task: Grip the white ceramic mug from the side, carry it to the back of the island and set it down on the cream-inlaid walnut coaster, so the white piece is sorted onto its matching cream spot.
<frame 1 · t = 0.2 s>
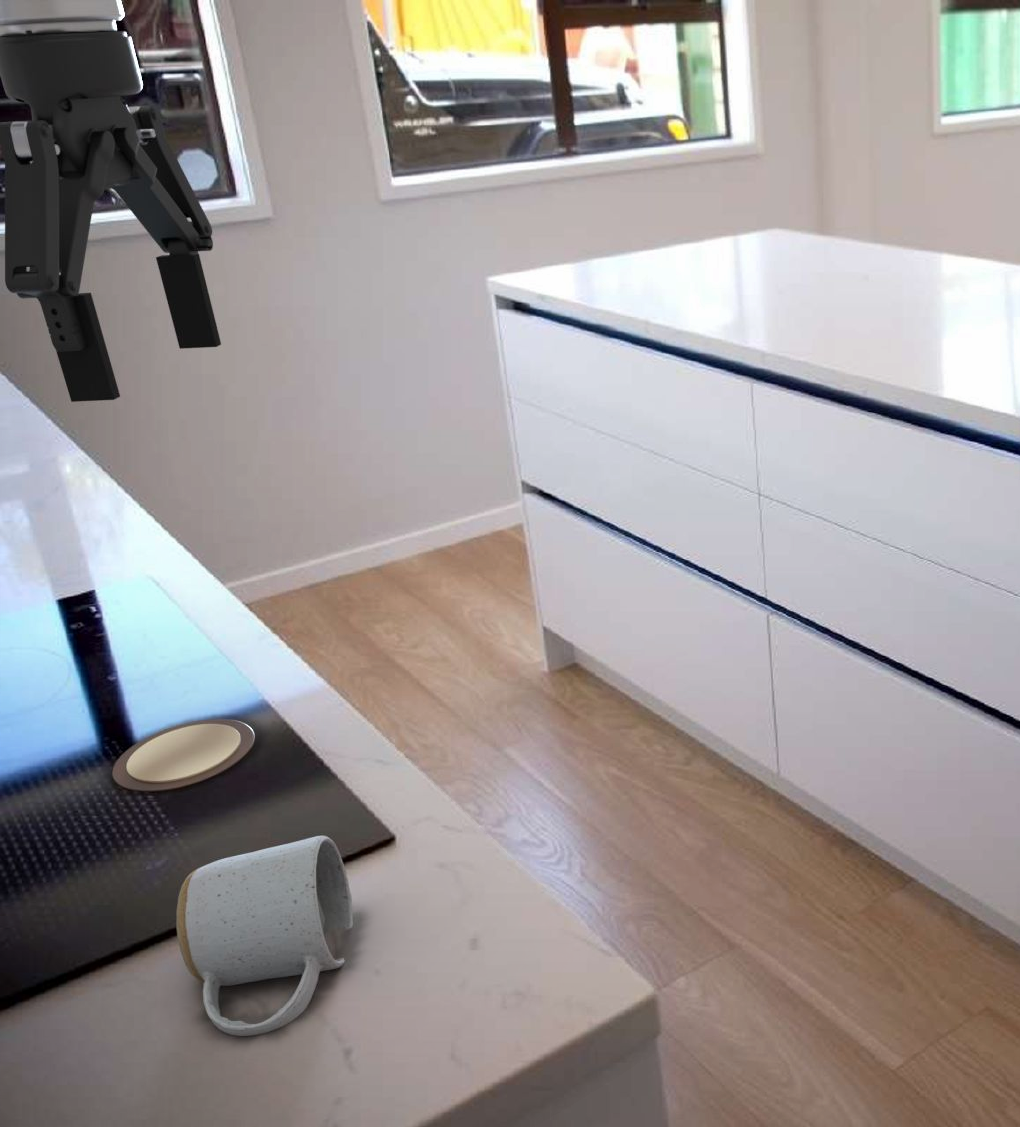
hand: (152, 371, 86), 31 cm above the worktop, tool pointing down, fingers open, 13 cm apart
ceramic mug: (284, 980, 76), on the worktop
cream coaster: (187, 761, 99), on the worktop
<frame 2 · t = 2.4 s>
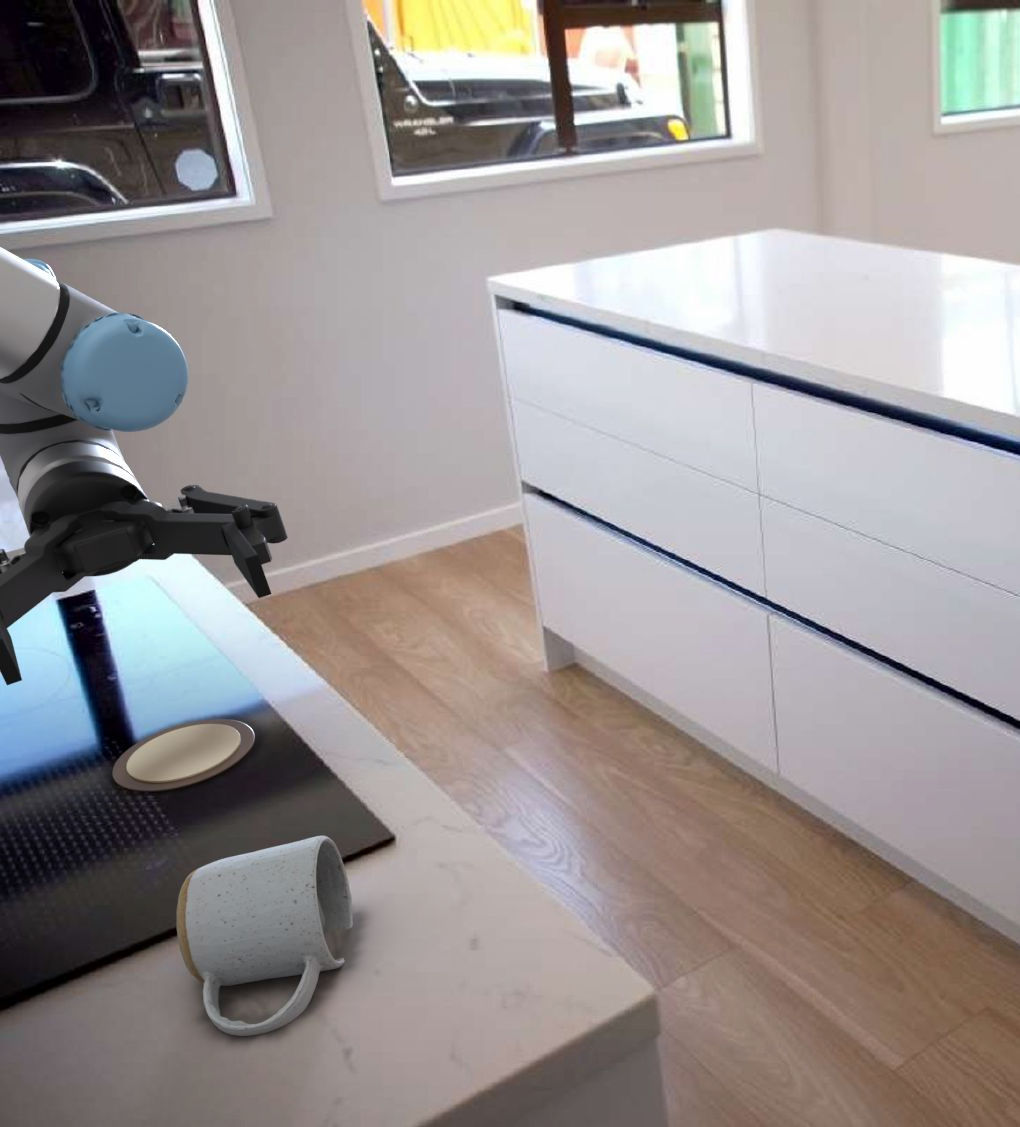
hand: (137, 617, 74), 21 cm above the worktop, tool horizontal, fingers open, 13 cm apart
nothing on the worktop moved.
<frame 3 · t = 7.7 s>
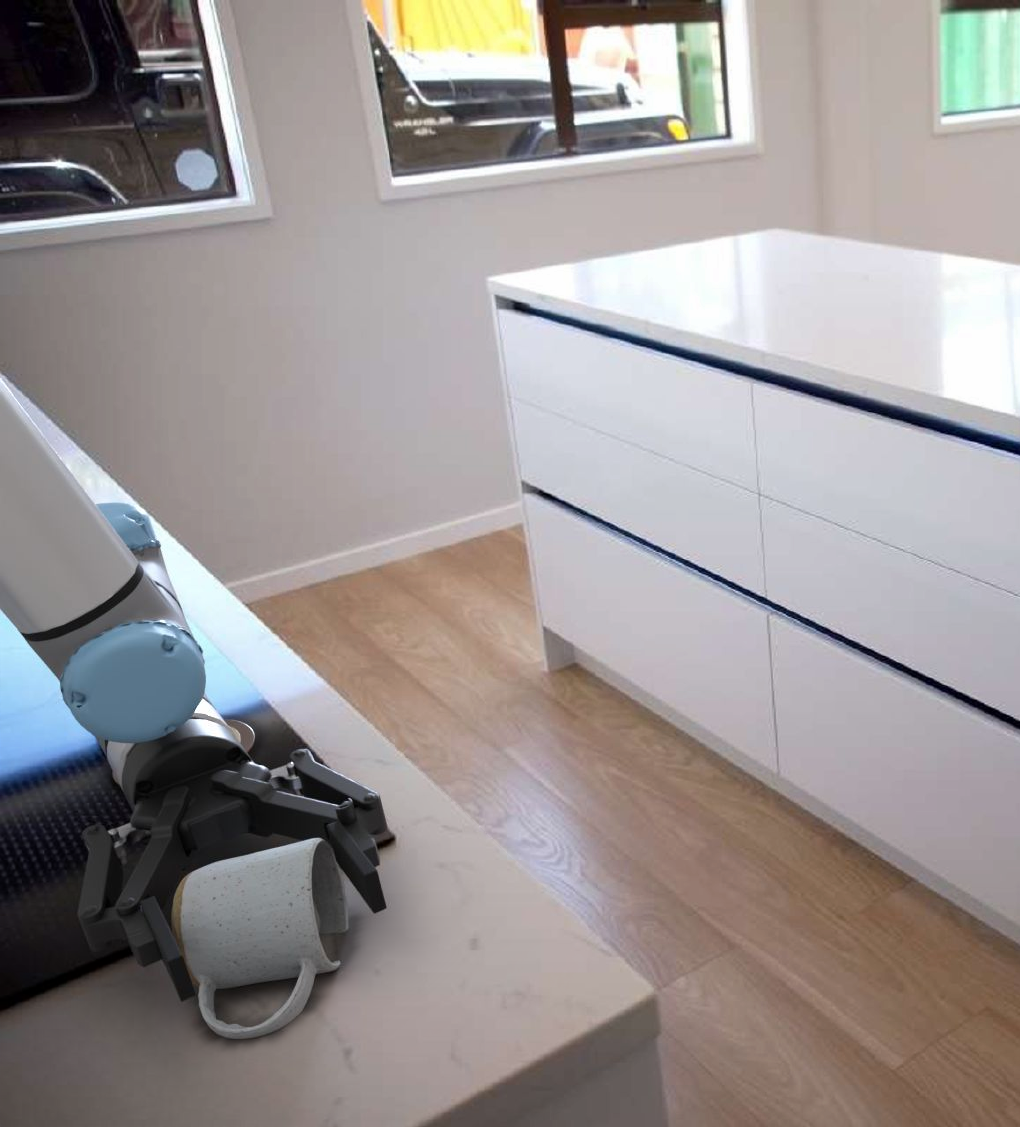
hand: (282, 933, 70), 6 cm above the worktop, tool horizontal, fingers closed on ceramic mug, 10 cm apart
ceramic mug: (279, 982, 76), on the worktop, touching gripper
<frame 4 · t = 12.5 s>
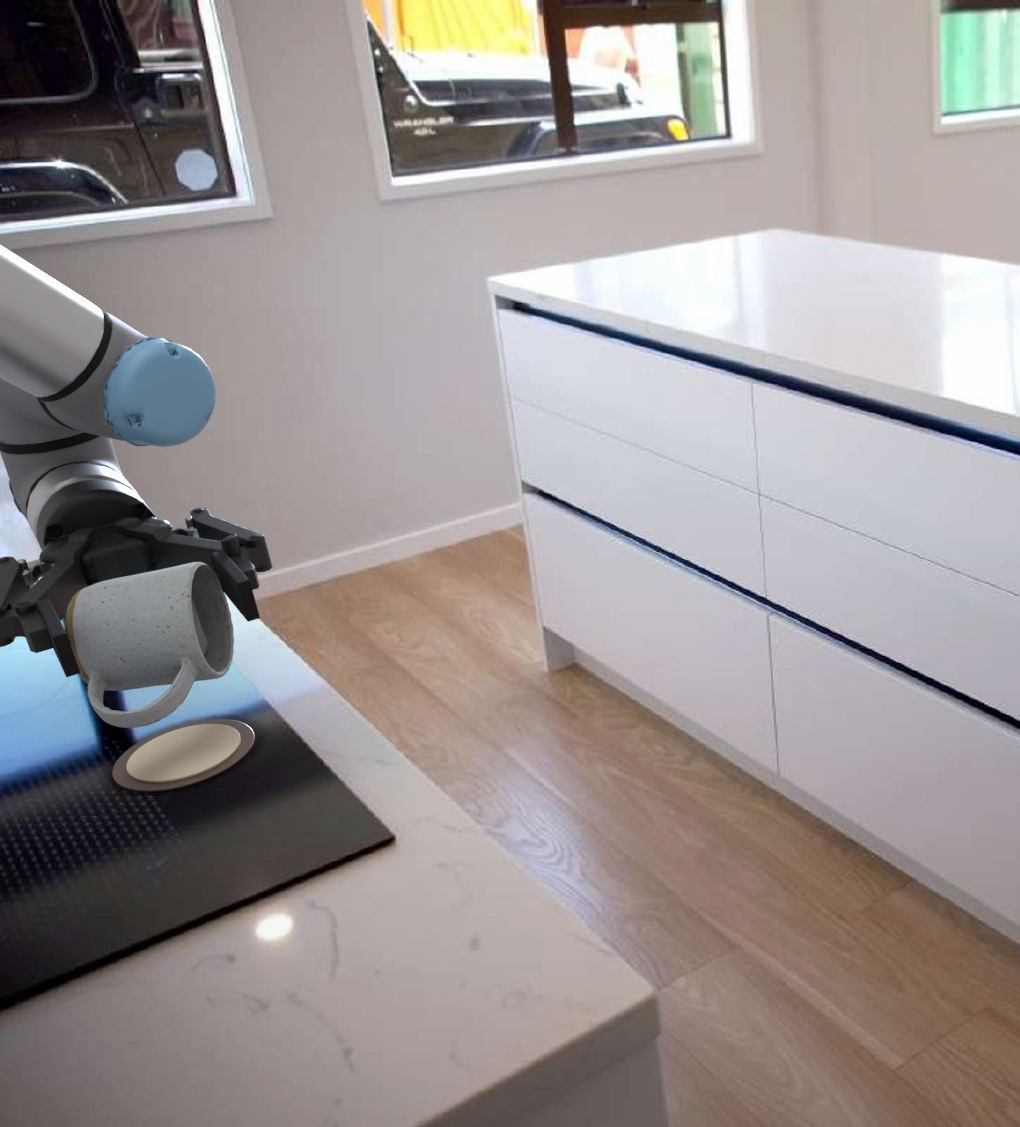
hand: (160, 627, 79), 18 cm above the worktop, tool horizontal, fingers closed on ceramic mug, 10 cm apart
ceramic mug: (167, 690, 84), point 12 cm above the worktop, touching gripper
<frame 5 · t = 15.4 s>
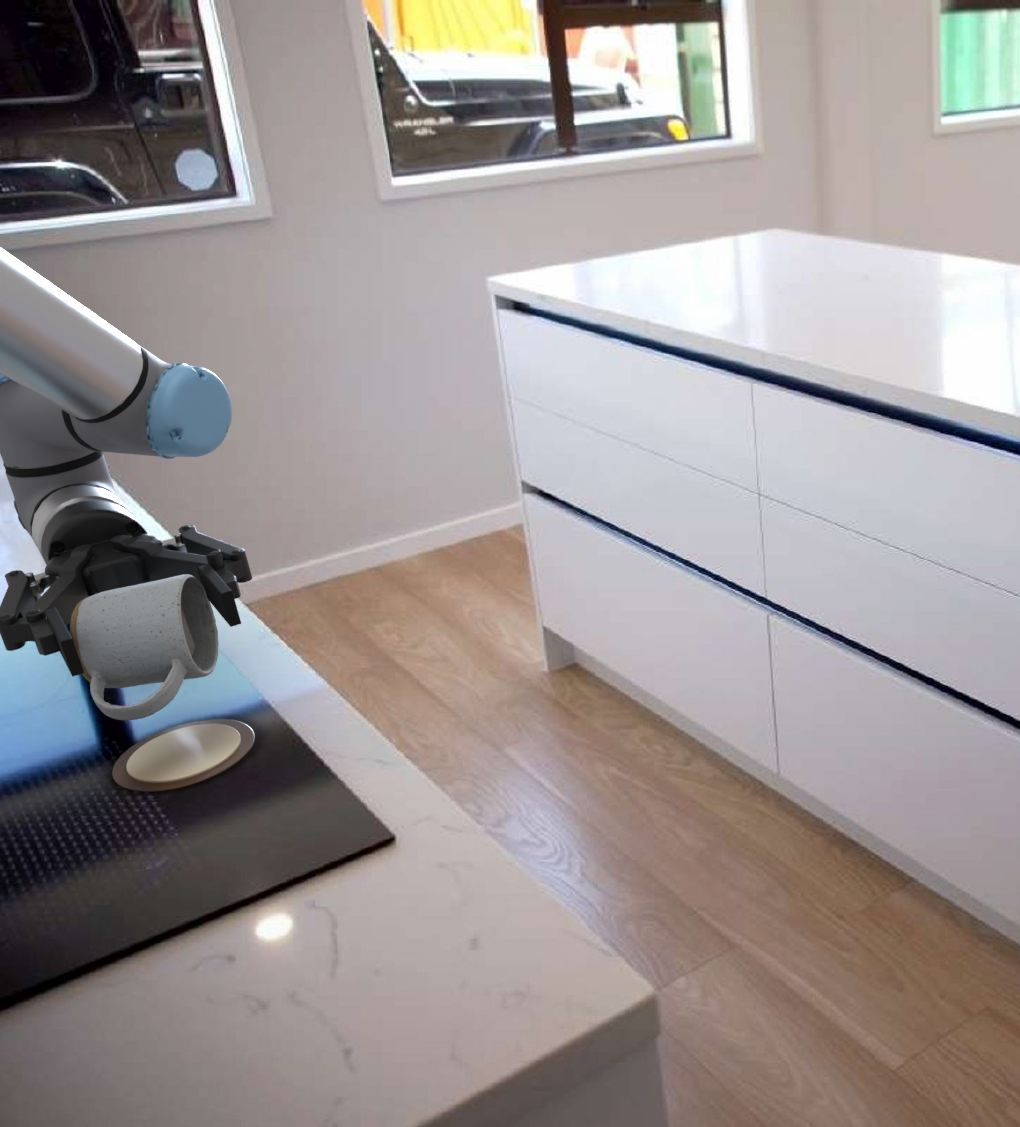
hand: (154, 632, 90), 13 cm above the worktop, tool horizontal, fingers closed on ceramic mug, 10 cm apart
ceramic mug: (159, 688, 96), point 7 cm above the worktop, touching gripper
when the fingers open (7 cm above the worktop, at t = 17.5 s): ceramic mug stays where it is, resting on cream coaster.
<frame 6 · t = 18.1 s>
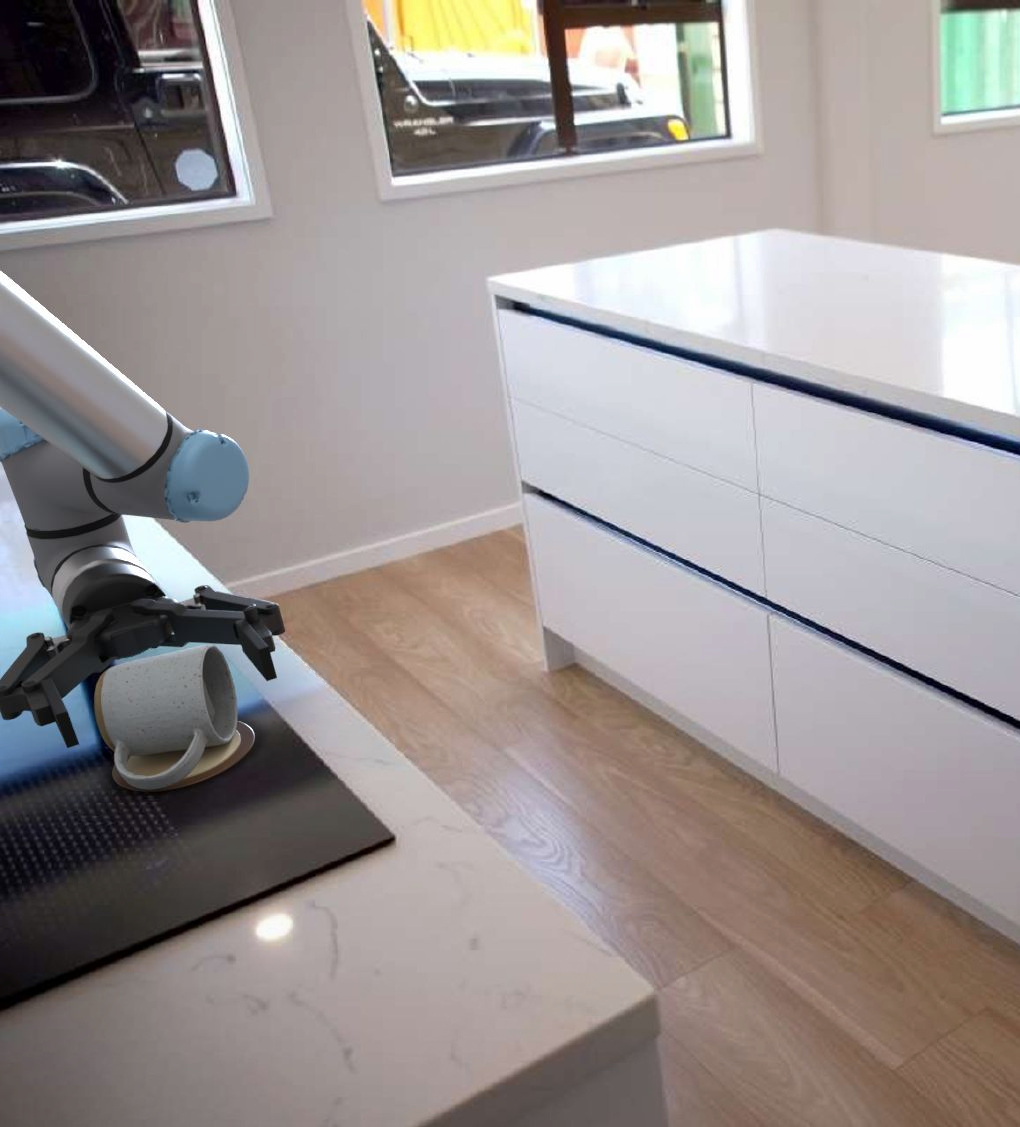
hand: (171, 695, 93), 7 cm above the worktop, tool horizontal, fingers open, 13 cm apart
ceramic mug: (180, 755, 98), point 1 cm above the worktop, touching cream coaster
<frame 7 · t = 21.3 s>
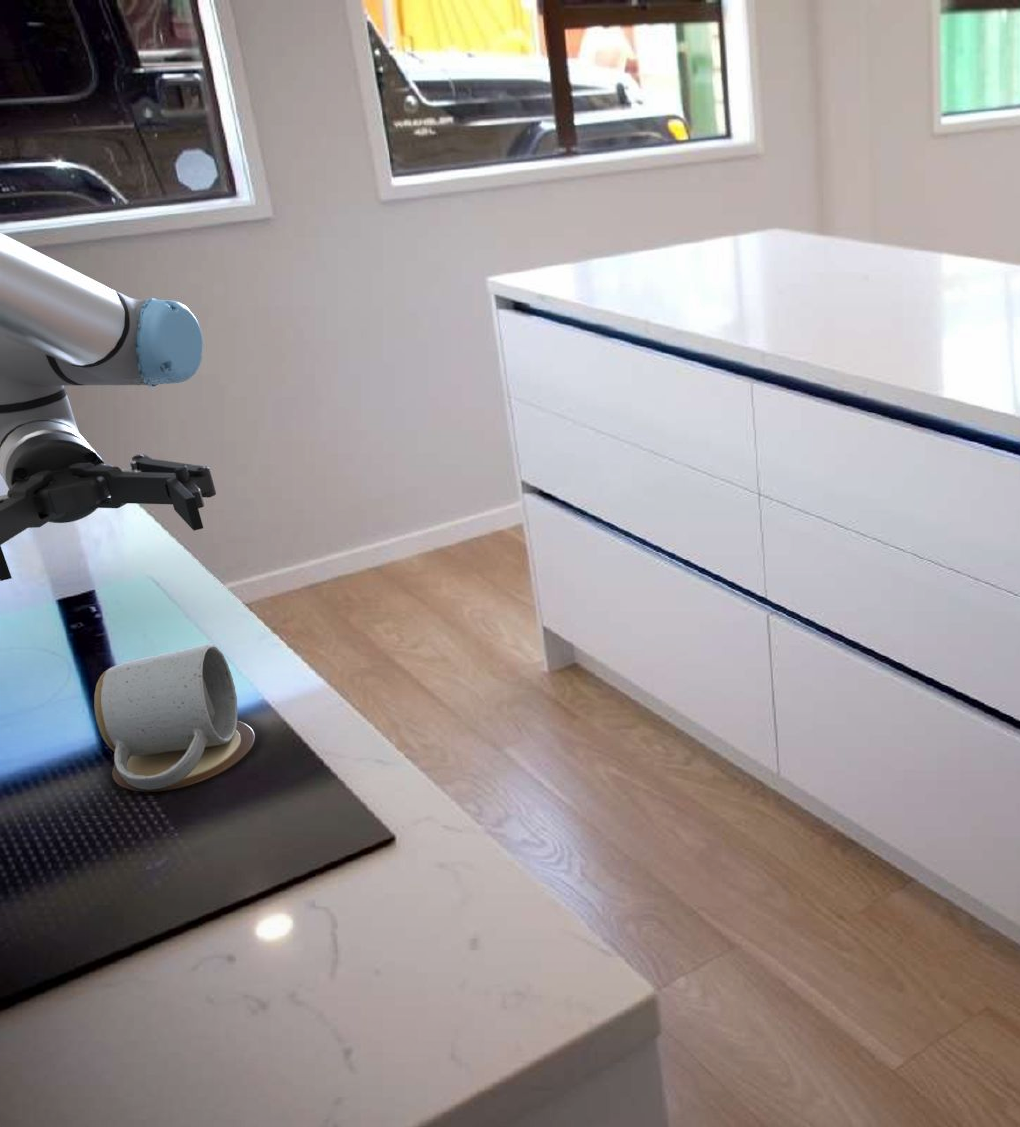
hand: (101, 537, 99), 16 cm above the worktop, tool horizontal, fingers open, 13 cm apart
nothing on the worktop moved.
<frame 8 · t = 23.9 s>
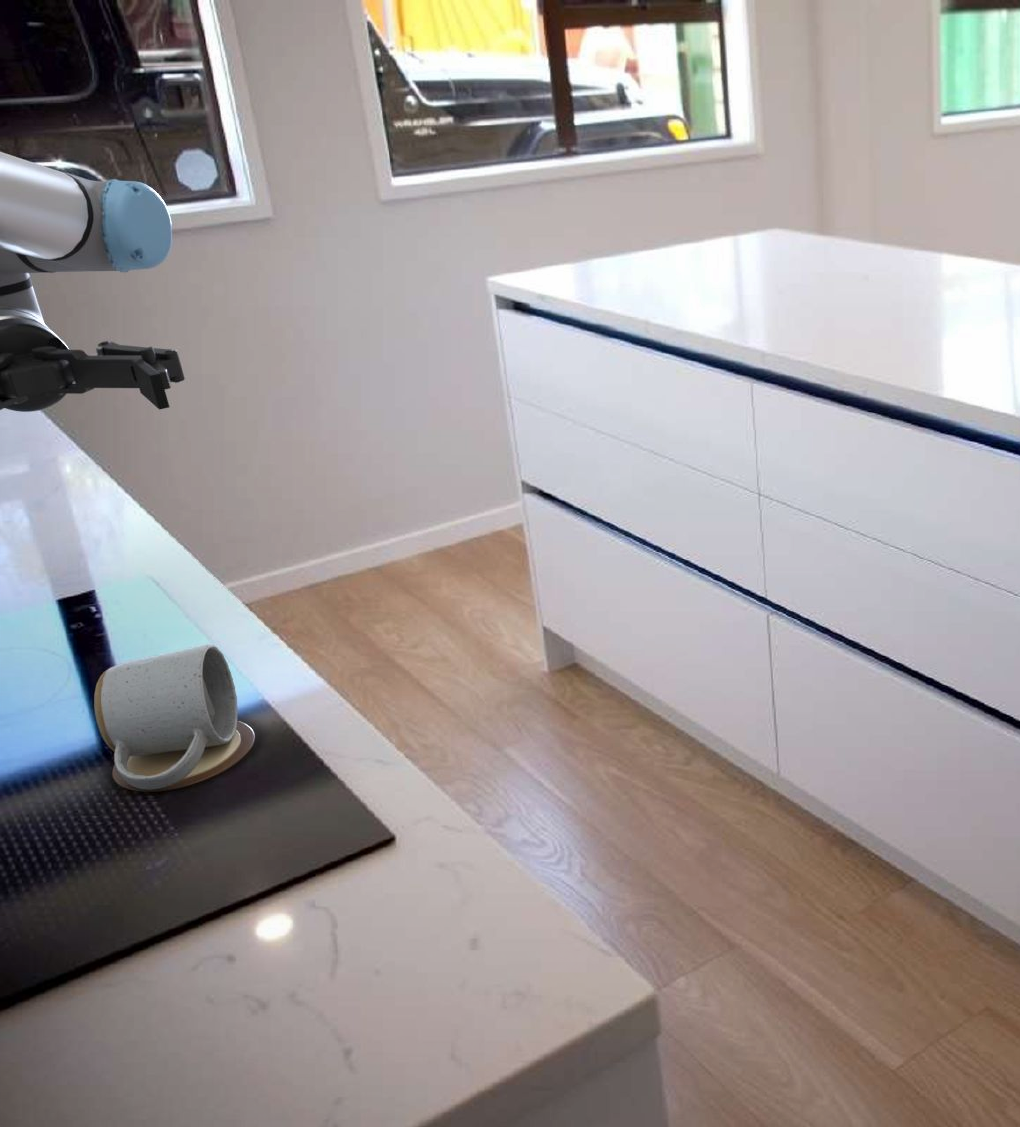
hand: (61, 412, 95), 26 cm above the worktop, tool horizontal, fingers open, 13 cm apart
nothing on the worktop moved.
at the end: ceramic mug 0.3 cm off-centre on the cream coaster, point 0.8 cm above the cream coaster's base; ceramic mug tilted 0°; the gripper is holding nothing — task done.
